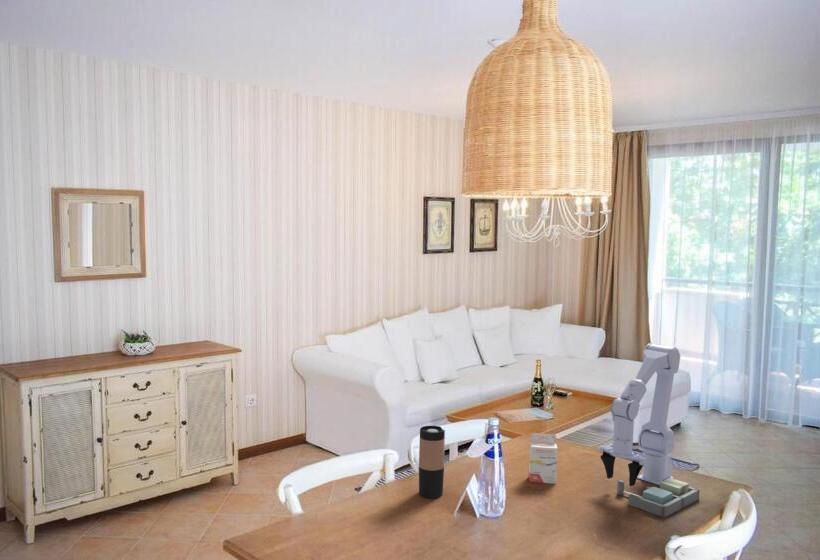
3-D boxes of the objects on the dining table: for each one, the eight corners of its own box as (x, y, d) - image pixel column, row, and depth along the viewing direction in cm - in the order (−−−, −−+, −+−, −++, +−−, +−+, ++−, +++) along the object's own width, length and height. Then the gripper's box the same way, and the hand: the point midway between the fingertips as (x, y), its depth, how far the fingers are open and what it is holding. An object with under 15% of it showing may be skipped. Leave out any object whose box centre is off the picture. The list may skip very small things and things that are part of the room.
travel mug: (414, 496, 199) (415, 430, 197) (423, 487, 206) (424, 424, 205) (438, 500, 196) (440, 434, 195) (446, 491, 203) (448, 427, 202)
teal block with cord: (622, 490, 207) (623, 476, 206) (671, 507, 195) (672, 492, 194) (612, 495, 203) (612, 481, 203) (661, 513, 191) (662, 497, 190)
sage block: (669, 493, 206) (669, 477, 205) (687, 499, 201) (688, 483, 201) (659, 498, 202) (660, 482, 201) (678, 504, 197) (679, 488, 197)
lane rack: (664, 488, 210) (664, 478, 209) (698, 499, 201) (699, 489, 201) (628, 504, 196) (628, 494, 196) (664, 517, 188) (664, 507, 187)
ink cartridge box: (529, 482, 212) (531, 437, 211) (528, 476, 217) (529, 432, 216) (556, 484, 211) (558, 438, 210) (555, 478, 216) (556, 434, 215)
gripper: (595, 434, 206) (593, 477, 207) (637, 446, 195) (635, 491, 196) (607, 430, 210) (605, 472, 211) (650, 442, 199) (648, 486, 200)
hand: (620, 481), depth 204 cm, fingers open, 7 cm apart
